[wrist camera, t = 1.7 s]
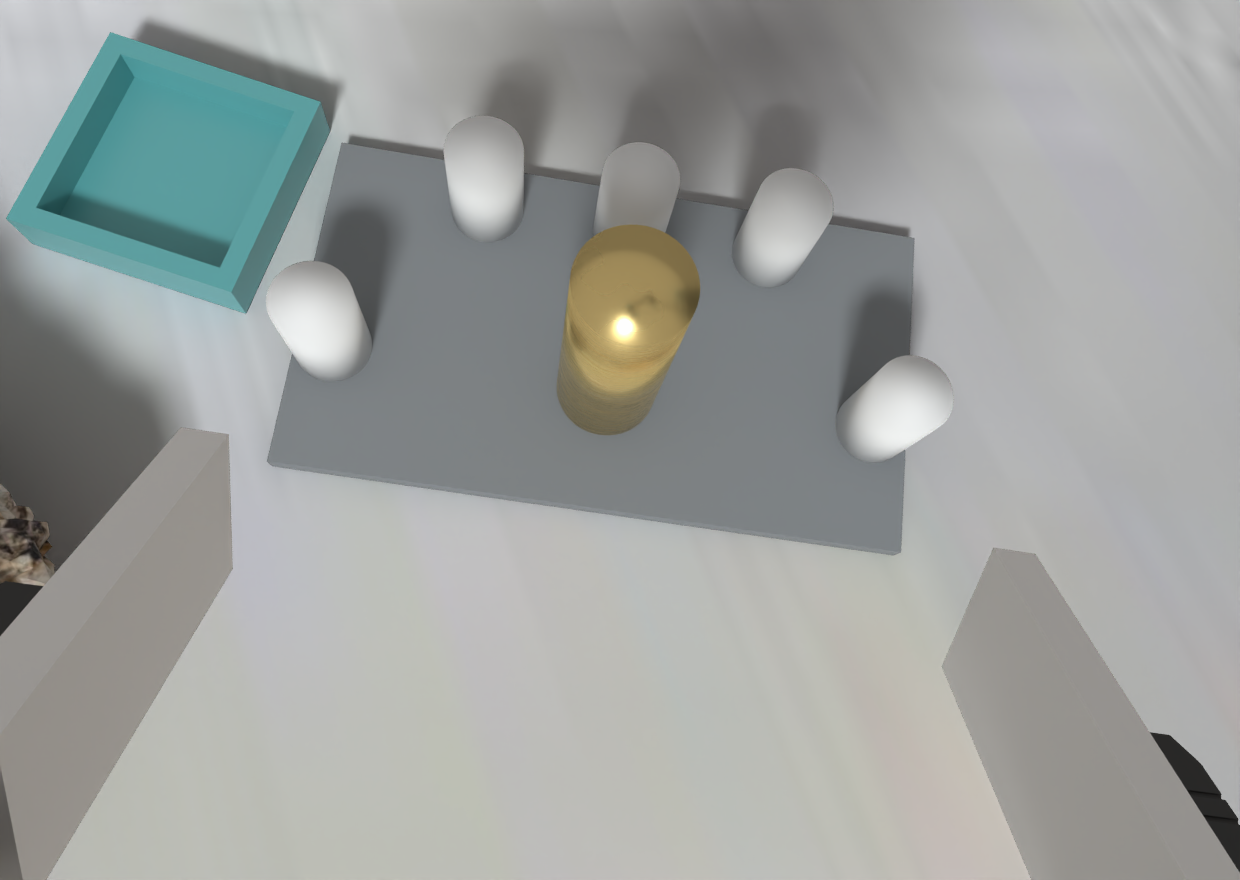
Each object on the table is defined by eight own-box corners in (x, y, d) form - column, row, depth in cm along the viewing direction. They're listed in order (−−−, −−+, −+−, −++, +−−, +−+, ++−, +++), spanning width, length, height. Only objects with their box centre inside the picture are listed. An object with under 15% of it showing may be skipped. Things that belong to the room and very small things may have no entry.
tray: (330, 131, 41) (320, 101, 39) (246, 313, 39) (231, 292, 37) (130, 64, 41) (110, 32, 39) (32, 243, 39) (6, 218, 37)
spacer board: (907, 246, 43) (959, 185, 38) (893, 555, 39) (949, 532, 34) (345, 153, 41) (320, 75, 36) (272, 465, 37) (233, 428, 32)
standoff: (666, 359, 39) (715, 248, 30) (638, 448, 38) (679, 362, 29) (574, 328, 39) (592, 207, 30) (543, 417, 38) (552, 320, 29)
